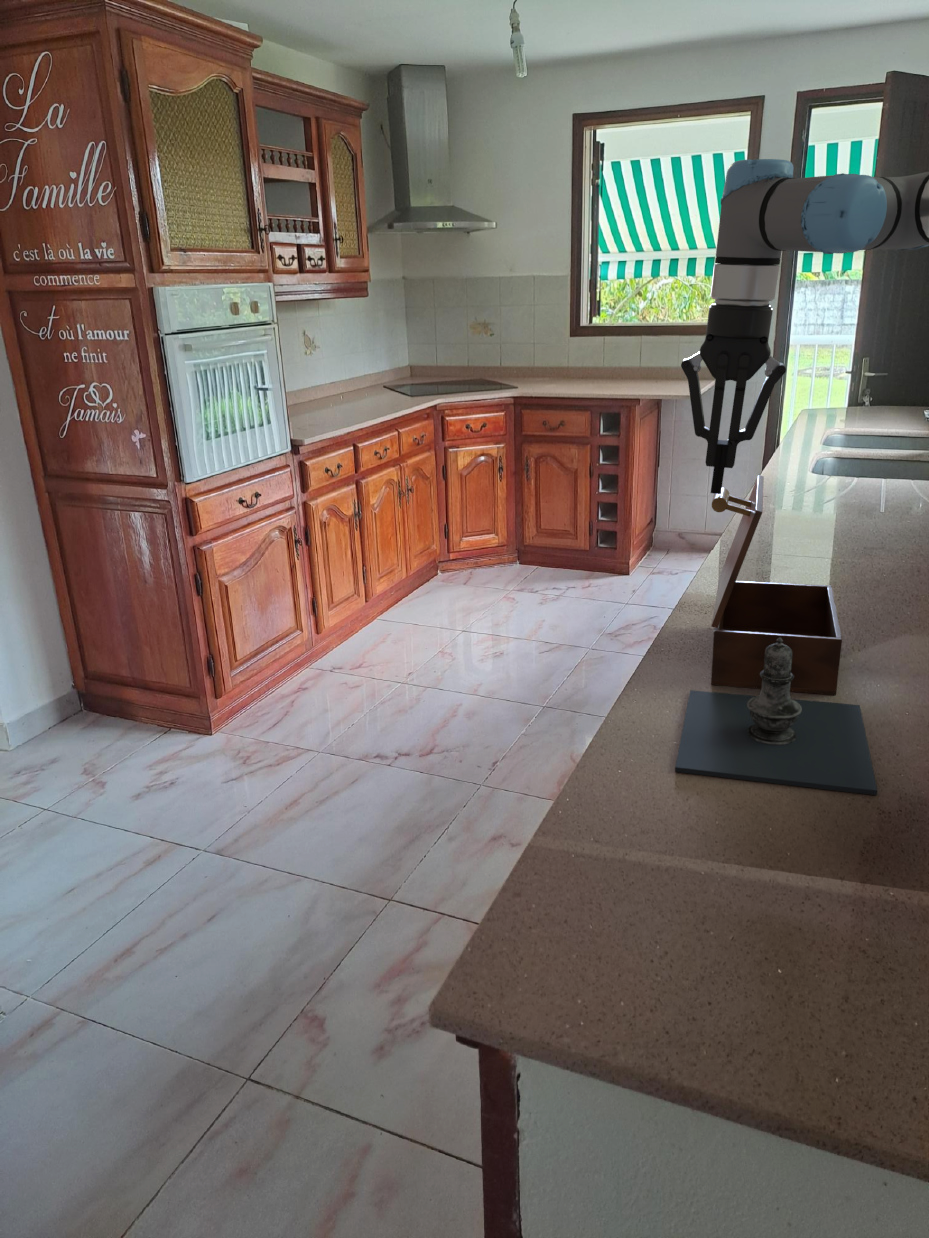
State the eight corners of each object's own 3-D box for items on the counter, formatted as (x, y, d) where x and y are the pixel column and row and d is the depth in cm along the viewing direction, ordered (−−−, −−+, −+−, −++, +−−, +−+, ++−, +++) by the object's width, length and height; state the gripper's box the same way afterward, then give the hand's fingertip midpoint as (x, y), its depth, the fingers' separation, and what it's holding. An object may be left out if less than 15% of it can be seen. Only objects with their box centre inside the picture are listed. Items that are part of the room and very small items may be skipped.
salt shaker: (749, 718, 105) (756, 624, 100) (802, 727, 102) (811, 630, 98) (740, 741, 100) (747, 643, 95) (795, 750, 97) (805, 650, 93)
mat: (859, 709, 107) (859, 704, 107) (876, 795, 89) (877, 790, 89) (689, 694, 113) (690, 689, 113) (675, 772, 95) (675, 767, 95)
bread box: (826, 634, 129) (831, 585, 127) (835, 695, 111) (842, 639, 108) (719, 627, 134) (722, 580, 131) (710, 684, 115) (713, 630, 113)
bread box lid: (763, 476, 124) (723, 464, 125) (762, 512, 106) (715, 497, 107) (724, 578, 131) (686, 565, 132) (717, 628, 112) (673, 614, 113)
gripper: (796, 302, 109) (766, 488, 118) (689, 299, 112) (669, 479, 122) (798, 306, 102) (767, 503, 112) (685, 302, 106) (664, 493, 115)
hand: (716, 490), depth 117 cm, fingers closed
